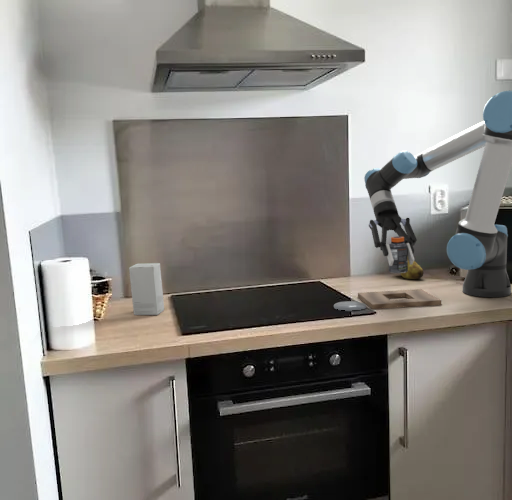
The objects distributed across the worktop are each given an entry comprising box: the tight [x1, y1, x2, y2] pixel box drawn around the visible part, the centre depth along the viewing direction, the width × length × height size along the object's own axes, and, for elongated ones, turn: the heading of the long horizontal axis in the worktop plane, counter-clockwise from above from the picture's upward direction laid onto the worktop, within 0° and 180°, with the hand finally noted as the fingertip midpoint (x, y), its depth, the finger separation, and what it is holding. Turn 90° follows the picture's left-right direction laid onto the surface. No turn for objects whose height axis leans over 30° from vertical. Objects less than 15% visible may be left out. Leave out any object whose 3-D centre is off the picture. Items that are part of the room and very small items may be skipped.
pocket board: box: [357, 288, 442, 310], centre depth 182 cm, size 22×16×2 cm
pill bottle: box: [388, 236, 408, 274], centre depth 180 cm, size 6×6×11 cm
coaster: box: [333, 300, 367, 312], centre depth 177 cm, size 10×10×1 cm
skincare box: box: [128, 262, 165, 316], centre depth 178 cm, size 8×7×16 cm
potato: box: [399, 260, 425, 280], centre depth 217 cm, size 8×13×8 cm, turn 10°
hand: (402, 262), depth 177 cm, fingers closed on pill bottle, 6 cm apart
